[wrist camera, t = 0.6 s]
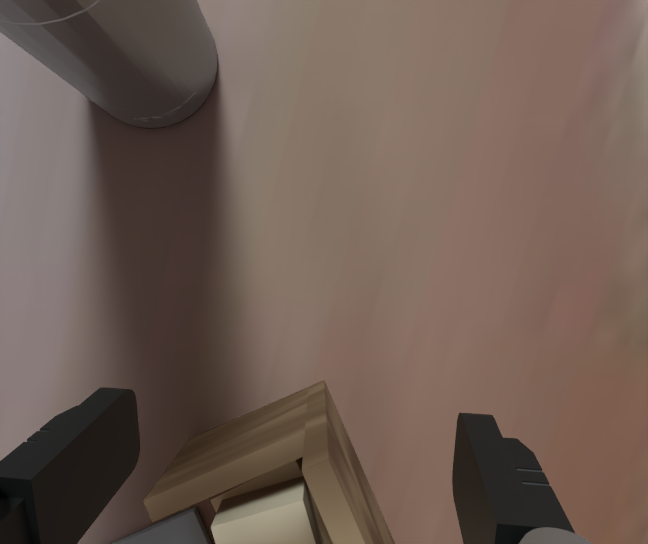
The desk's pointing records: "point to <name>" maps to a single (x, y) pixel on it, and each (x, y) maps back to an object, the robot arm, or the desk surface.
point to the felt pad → (172, 531)
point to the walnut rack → (279, 465)
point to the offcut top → (268, 516)
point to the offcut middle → (268, 479)
